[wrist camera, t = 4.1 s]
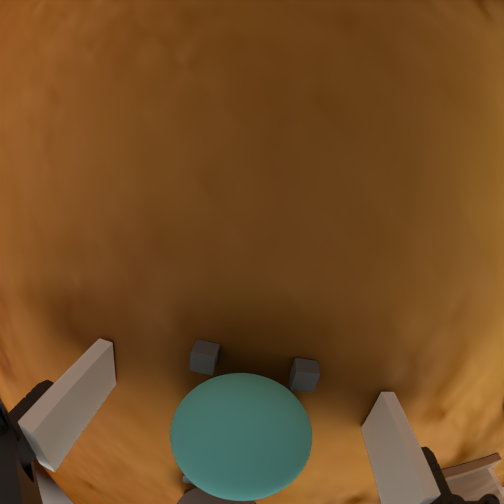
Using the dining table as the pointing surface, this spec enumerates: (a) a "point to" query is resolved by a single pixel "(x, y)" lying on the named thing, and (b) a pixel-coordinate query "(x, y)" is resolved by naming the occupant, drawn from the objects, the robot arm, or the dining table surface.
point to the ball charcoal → (206, 498)
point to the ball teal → (241, 436)
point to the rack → (475, 479)
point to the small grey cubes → (206, 359)
